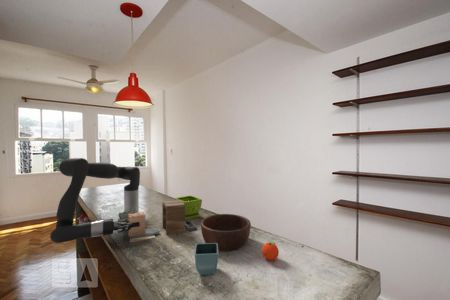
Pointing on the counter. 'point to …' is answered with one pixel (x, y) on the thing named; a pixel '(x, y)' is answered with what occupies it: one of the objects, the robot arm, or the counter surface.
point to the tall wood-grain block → (140, 230)
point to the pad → (141, 238)
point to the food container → (125, 213)
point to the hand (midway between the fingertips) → (138, 222)
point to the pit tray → (190, 225)
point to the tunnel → (173, 216)
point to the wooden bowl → (226, 231)
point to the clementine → (270, 251)
